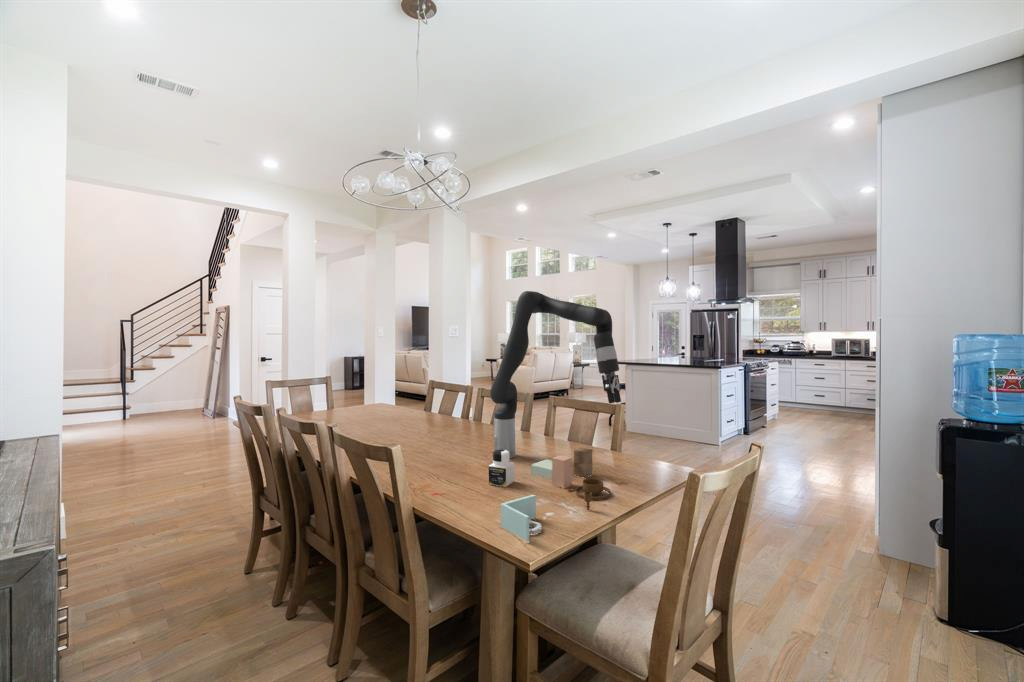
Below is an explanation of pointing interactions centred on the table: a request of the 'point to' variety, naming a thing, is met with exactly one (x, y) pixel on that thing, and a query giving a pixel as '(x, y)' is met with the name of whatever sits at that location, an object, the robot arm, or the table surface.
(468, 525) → the table surface
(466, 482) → the table surface
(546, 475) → the sage base block
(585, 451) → the walnut pillar
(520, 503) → the l-shaped corner panel
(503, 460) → the medicine bottle
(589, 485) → the place setting
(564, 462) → the terracotta pillar
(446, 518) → the table surface
